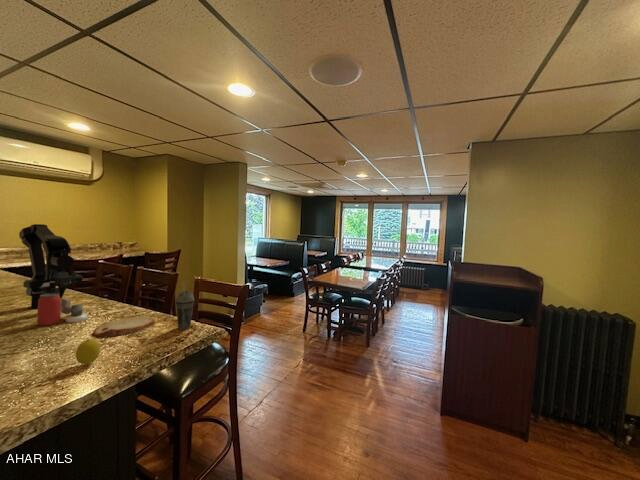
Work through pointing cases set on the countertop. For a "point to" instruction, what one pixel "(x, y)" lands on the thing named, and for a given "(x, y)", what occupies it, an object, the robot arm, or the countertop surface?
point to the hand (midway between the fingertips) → (55, 299)
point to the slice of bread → (123, 326)
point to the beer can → (49, 309)
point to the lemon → (87, 352)
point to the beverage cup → (184, 309)
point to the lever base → (76, 318)
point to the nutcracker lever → (68, 305)
